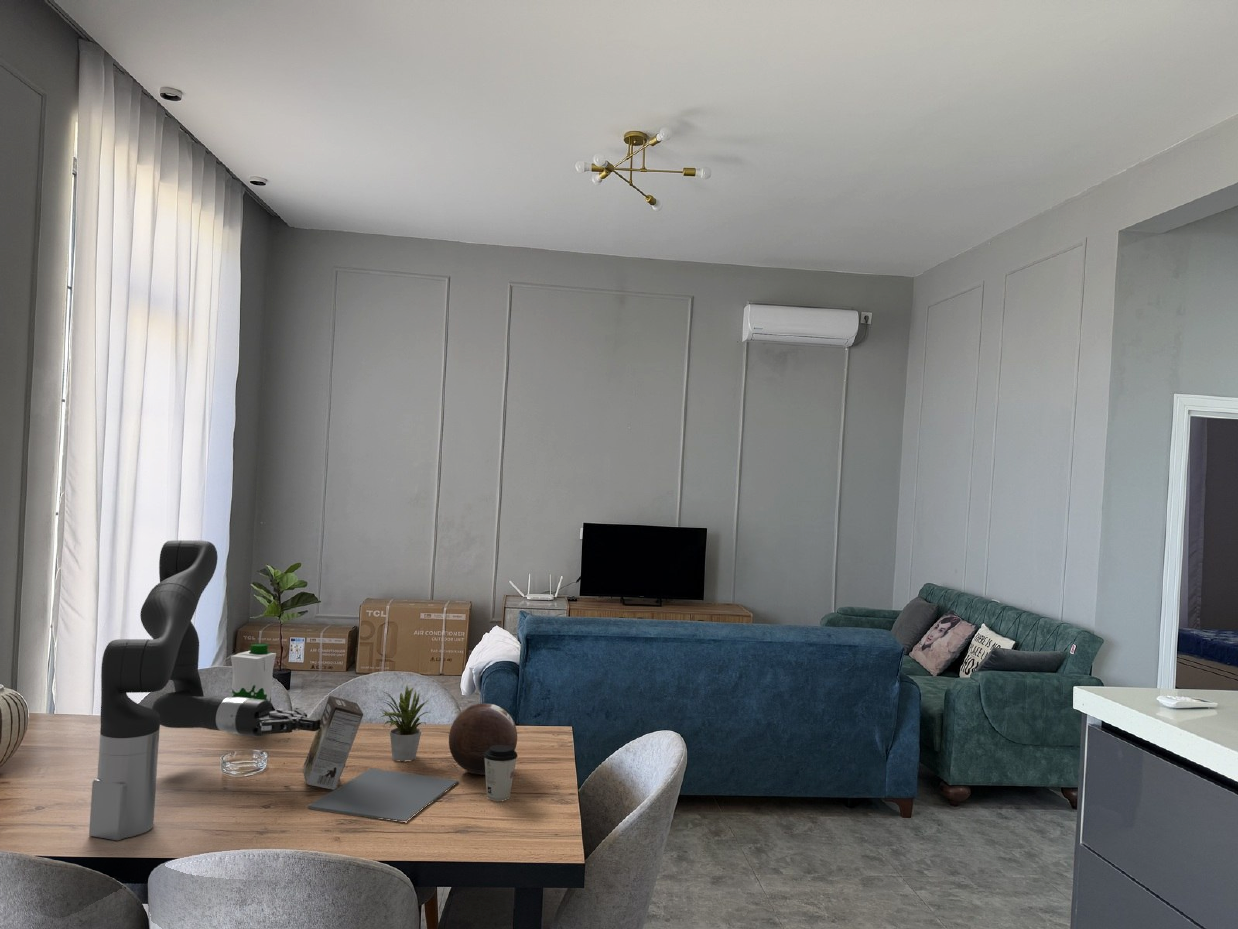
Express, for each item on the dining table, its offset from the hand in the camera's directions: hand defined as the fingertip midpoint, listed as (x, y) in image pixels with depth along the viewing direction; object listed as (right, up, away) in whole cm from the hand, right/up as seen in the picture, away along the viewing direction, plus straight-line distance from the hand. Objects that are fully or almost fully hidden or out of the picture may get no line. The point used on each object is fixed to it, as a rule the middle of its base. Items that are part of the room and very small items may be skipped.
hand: (318, 725), depth 183 cm
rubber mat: (+15, -13, -4) cm, 20 cm away
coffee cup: (+37, -14, -2) cm, 40 cm away
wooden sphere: (+32, -14, +12) cm, 37 cm away
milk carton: (-30, -12, +37) cm, 49 cm away
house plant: (+12, -13, +20) cm, 27 cm away
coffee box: (0, -11, 0) cm, 11 cm away
